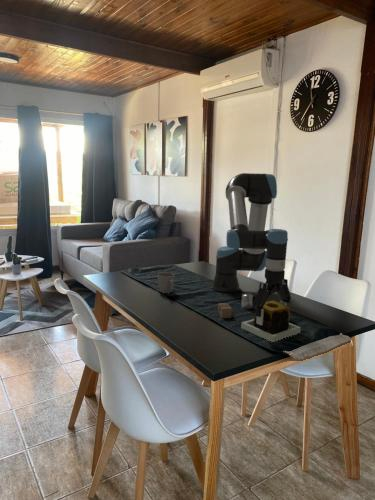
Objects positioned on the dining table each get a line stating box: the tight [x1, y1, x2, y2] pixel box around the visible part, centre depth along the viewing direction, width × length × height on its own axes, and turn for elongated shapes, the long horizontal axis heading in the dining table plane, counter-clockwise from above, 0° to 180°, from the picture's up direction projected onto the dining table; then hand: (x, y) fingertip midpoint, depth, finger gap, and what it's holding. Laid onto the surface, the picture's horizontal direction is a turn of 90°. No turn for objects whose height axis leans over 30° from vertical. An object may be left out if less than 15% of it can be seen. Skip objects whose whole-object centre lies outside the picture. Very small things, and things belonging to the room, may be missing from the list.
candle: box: [253, 300, 291, 335], centre depth 148 cm, size 10×10×10 cm
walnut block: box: [217, 302, 233, 319], centre depth 164 cm, size 7×4×4 cm, turn 9°
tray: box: [240, 318, 301, 343], centre depth 149 cm, size 16×16×2 cm
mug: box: [157, 271, 175, 294], centre depth 193 cm, size 12×9×10 cm
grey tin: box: [240, 293, 254, 310], centre depth 175 cm, size 5×5×6 cm
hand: (271, 320), depth 148 cm, fingers open, 13 cm apart
